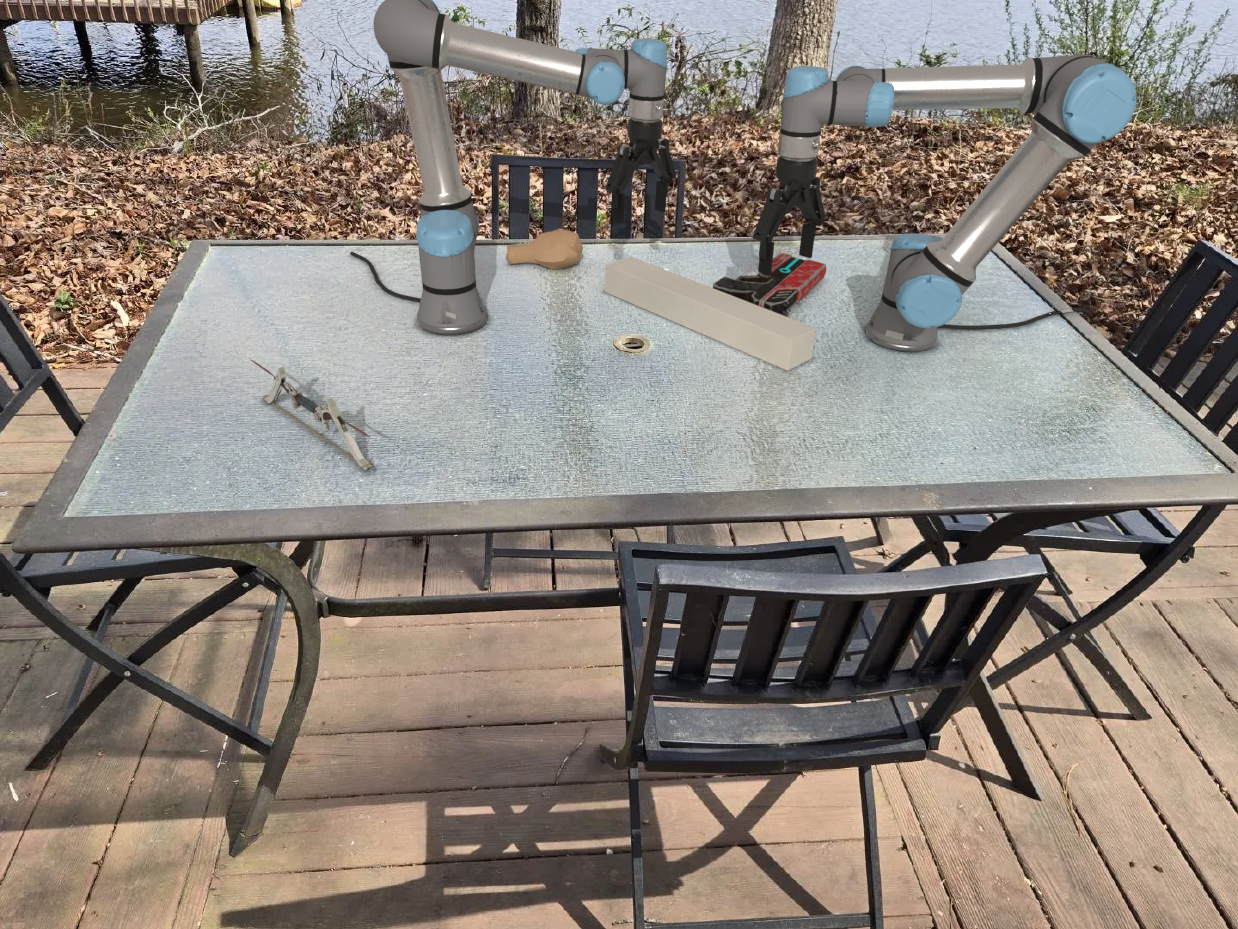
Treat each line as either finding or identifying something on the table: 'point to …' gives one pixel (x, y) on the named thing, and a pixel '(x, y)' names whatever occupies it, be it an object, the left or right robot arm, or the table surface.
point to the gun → (776, 283)
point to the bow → (316, 413)
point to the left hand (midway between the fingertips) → (639, 216)
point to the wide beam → (712, 312)
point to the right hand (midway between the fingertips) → (785, 264)
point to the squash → (548, 250)
